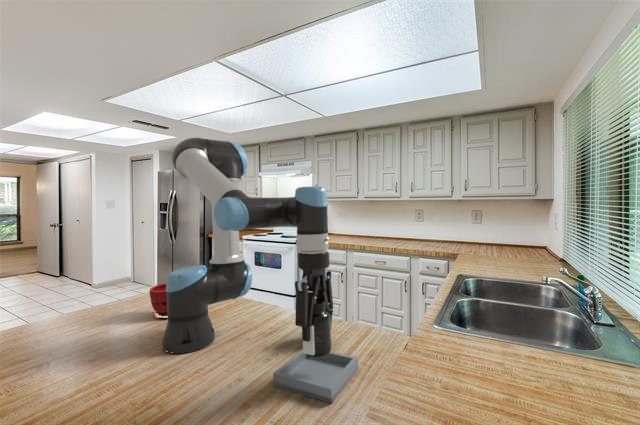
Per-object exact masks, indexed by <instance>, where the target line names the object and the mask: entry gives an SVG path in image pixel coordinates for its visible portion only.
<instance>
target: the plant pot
mask: <svg viewBox="0 0 640 425" xmlns="http://www.w3.org/2000/svg"><path fill="white" fill-rule="evenodd" d="M149 298H150V303H151V307H152V308H153V310H154V312H155V311H156V313H158V314H159V315H161V316H168V313H167V292H166V283H165V282H164V283H160V284H157V285H154V286H153V287H151V288H149Z"/></svg>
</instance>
